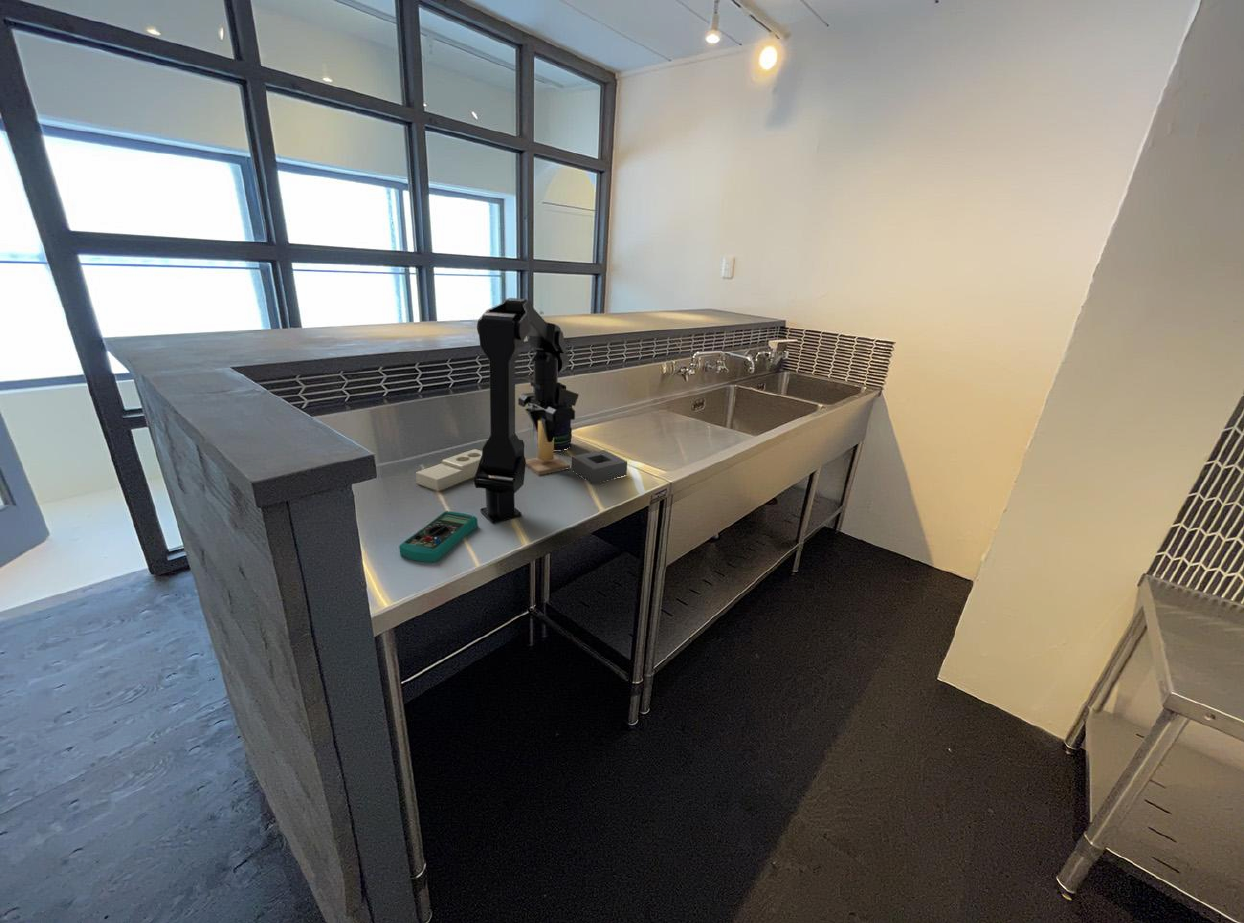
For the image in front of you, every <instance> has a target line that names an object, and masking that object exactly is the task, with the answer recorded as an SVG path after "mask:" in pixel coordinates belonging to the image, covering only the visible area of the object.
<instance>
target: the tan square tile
mask: <svg viewBox="0 0 1244 923" xmlns="http://www.w3.org/2000/svg"><path fill="white" fill-rule="evenodd" d="M525 460H526V467H525V468H527V467H528V470H530V469H531V470H530V471H532V473H534V472H535V474H536V475H537V474H538V476H542V474H543V475H548V474H551V472H553V473H556V472H555V471H557V472H560V471H559V470H562V471H564V470H563V469H566V468H570V469H571V465H570V464H569V463H568V462H566V461H563V460H562V459H561V458H559V457H557V456H556V455H554V459H553V460H550V461H542V460H539V459H538V456H537V457H533V458H528V459H525ZM547 473H548V474H547Z"/></svg>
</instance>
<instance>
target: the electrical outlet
mask: <svg viewBox="0 0 1244 923" xmlns="http://www.w3.org/2000/svg"><path fill="white" fill-rule="evenodd" d="M481 456H482V450H479V449H476V448H474V449H473V448H472V449H471V450H468V451H466V452H465V451H464V452H462V453H459V454H456V455H453V456H450V457H447V458H444V459H443V460H441V463H439V464H437V465H433V466H430V467H427V468H425V469H421V470H419V471H416V472H415V477H416V484H417V485H420V486H423V487H425V488H428V489H430V490H433V491H436V492H440V491H442V490H445V489H448V488H450V487H452V486H456V485H457V484H459V483H462V482H465V481H467V480H470V479H472V478H475V475H476V472H477V468H478V465H479V462H480V459H481Z"/></svg>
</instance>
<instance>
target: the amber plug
mask: <svg viewBox="0 0 1244 923" xmlns="http://www.w3.org/2000/svg"><path fill="white" fill-rule="evenodd" d="M554 456H555V452H554V438H553V441H552V442H548V441H547V438H546V435H545V432H544V428H543V425H542V422H541V419H539V420H538V438H537V457H538V459H539V460H542V461H550V460H553V459H554Z"/></svg>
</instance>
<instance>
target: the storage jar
mask: <svg viewBox="0 0 1244 923" xmlns="http://www.w3.org/2000/svg"><path fill="white" fill-rule="evenodd" d="M558 405H567V406H569V407H571V408H573V405H571V404H569V403H565V402H563V404H556V406H558ZM571 422H572V420H567V421H561V422H560V423H559V425H558V427H557V429H556V432H555V435H554V450H564V449H567V448H569V447H570V446H571V447H572V438H573V436H572V435H573V434H572V431H573V430H572V426H571V425H572V423H571ZM536 433H537V432H536ZM536 438H537V439H538V433H537V434H536Z"/></svg>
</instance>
